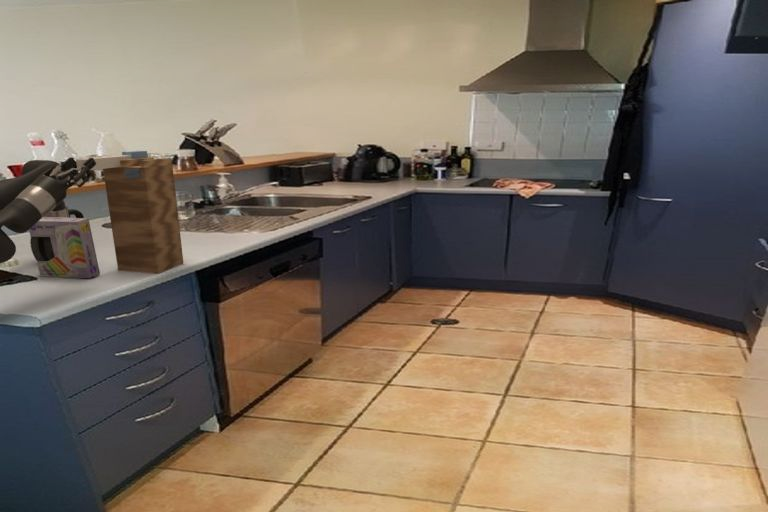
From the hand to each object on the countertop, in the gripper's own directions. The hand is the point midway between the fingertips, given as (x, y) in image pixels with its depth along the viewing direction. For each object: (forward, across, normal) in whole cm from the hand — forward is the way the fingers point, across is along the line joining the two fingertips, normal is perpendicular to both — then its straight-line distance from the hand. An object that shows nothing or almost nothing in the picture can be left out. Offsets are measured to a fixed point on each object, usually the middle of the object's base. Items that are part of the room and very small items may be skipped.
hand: (83, 160), depth 139 cm
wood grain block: (-3, -4, +38) cm, 38 cm away
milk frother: (+9, +52, +46) cm, 69 cm away
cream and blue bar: (+8, 0, +8) cm, 11 cm away
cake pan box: (-16, +14, +31) cm, 38 cm away
